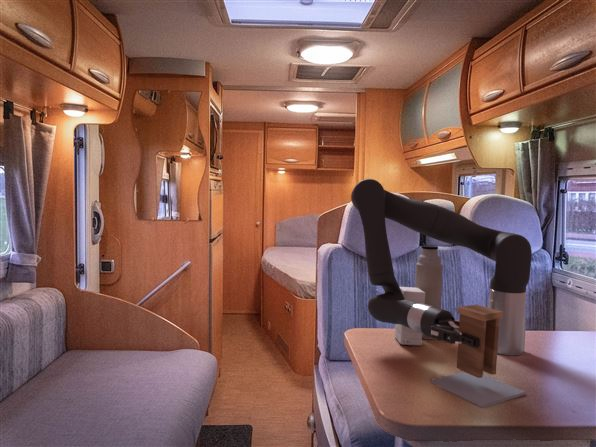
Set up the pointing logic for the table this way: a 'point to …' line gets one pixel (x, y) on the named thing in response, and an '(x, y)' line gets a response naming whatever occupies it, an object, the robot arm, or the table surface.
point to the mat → (478, 388)
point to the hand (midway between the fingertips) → (487, 341)
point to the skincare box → (403, 332)
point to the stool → (487, 330)
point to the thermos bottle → (430, 276)
